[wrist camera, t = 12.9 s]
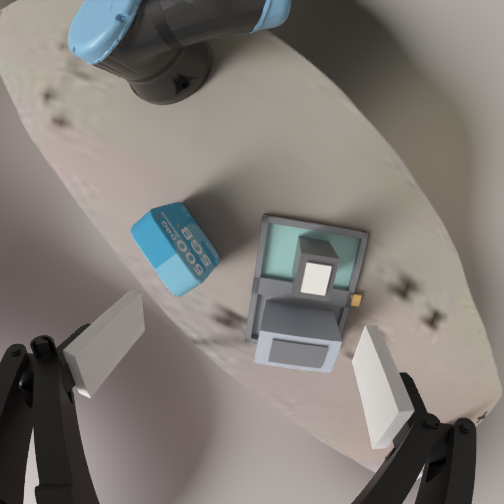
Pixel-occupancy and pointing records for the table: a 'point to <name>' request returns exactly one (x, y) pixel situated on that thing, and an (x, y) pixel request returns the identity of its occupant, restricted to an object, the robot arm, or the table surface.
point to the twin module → (298, 337)
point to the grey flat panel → (281, 263)
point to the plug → (314, 269)
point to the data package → (175, 247)
